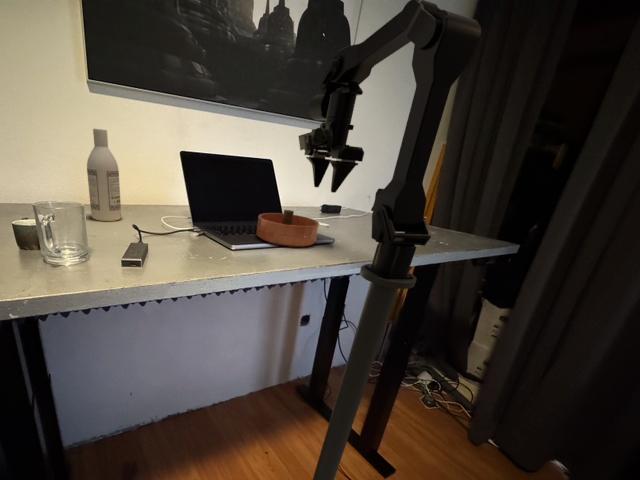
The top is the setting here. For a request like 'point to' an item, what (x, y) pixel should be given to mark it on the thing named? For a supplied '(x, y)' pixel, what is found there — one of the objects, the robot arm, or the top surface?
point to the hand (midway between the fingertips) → (324, 189)
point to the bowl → (287, 230)
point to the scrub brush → (287, 217)
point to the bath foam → (103, 180)
